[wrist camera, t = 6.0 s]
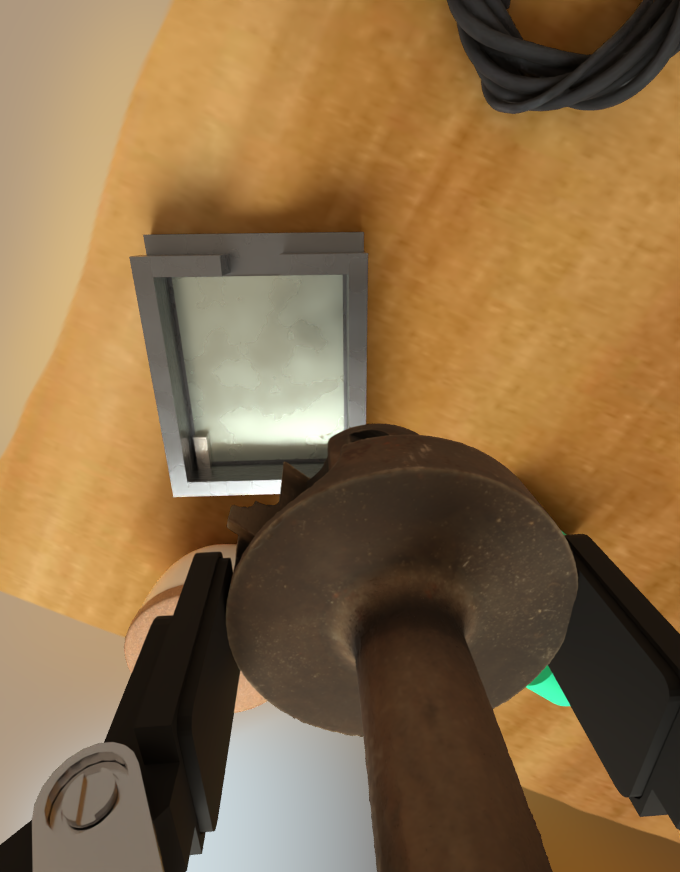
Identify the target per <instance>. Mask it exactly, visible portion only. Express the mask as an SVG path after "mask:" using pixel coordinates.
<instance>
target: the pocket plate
mask: <svg viewBox="0 0 680 872" xmlns="http://www.w3.org/2000/svg"><path fill="white" fill-rule="evenodd" d="M143 236H144V242H145V248H146V254H147V255H139V256H131V257H130V263H131V268H132V274H133V279H134V284H135V290H136V295H137V301H138V306H139V312H140V317H141V323H142V328H143V333H144V339H145V344H146V350H147V355H148V361H149V366H150V372H151V377H152V382H153V388H154V393H155V399H156V404H157V410H158V415H159V421H160V426H161V432H162V437H163V442H164V448H165V453H166V459H167V464H168V470H169V475H170V481H171V486H172V491H173V497H191V496H224V495H257V494H280V489H281V481H282V472H283V462H284V461H285V462H287V463H288V464H290V465H291V466H293V467H294V468H295V469H297V470H298V471H300V472H301V473H303V474H304V475H306V476H307V477H309V478H312V477H313V476H314V475H316V474H317V473H318V472H319V471H320V469H321V468H322V466H323V464H324V462H325V460H326V459H327V456H328V450H327V448H328V441H329V438H331V437H332V436H334V435H335V434H337V433H339V432H341V431H344V430H346V429H348V428H351V427H355V426H359V425H365V424H366V378H367V295H368V253H366V252H364V232H324V233H245V234H166V235H143ZM328 433H331V434H329V435H326V434H328ZM321 435H323V436H324V437H323V438H321Z"/></svg>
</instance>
